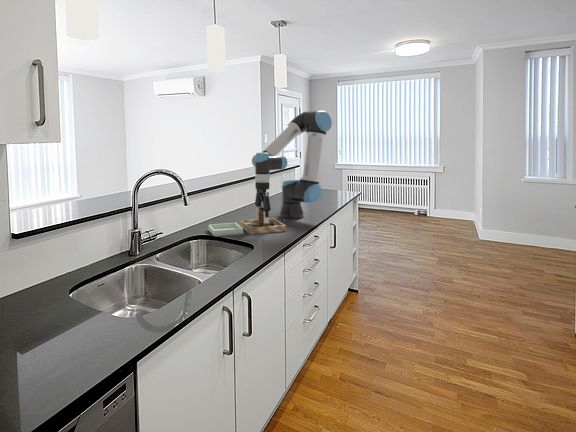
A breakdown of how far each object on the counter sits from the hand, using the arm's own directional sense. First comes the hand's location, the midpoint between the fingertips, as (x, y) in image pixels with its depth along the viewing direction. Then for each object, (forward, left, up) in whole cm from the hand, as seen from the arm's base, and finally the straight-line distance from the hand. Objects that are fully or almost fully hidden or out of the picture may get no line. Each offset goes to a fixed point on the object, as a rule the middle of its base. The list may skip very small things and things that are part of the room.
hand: (262, 220), depth 221 cm
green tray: (+21, +2, -4) cm, 22 cm away
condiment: (0, 0, -5) cm, 5 cm away
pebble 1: (+6, -6, -4) cm, 10 cm away
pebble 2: (-7, +5, -4) cm, 10 cm away
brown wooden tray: (0, 0, -4) cm, 4 cm away
